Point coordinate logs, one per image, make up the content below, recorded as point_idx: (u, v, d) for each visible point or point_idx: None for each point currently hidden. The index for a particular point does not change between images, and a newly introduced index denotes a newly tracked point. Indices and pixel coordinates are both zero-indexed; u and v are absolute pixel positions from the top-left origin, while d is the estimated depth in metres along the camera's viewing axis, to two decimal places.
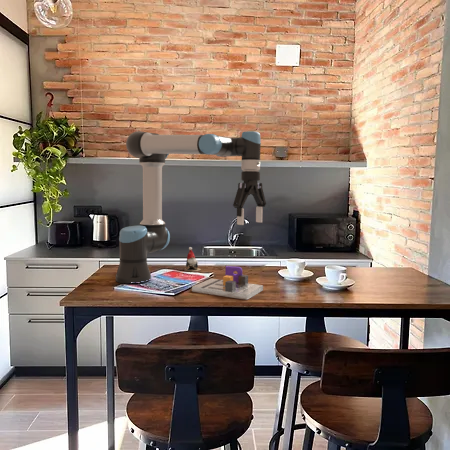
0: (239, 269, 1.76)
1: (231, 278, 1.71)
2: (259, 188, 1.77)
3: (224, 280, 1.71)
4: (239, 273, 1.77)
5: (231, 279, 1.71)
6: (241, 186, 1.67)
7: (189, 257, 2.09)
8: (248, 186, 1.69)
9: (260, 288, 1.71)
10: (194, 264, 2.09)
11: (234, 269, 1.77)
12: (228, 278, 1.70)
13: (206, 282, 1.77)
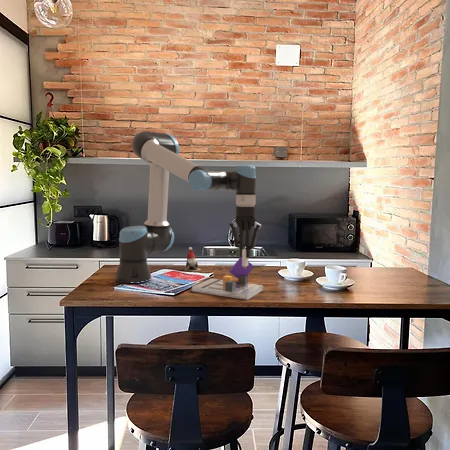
0: (251, 266, 1.78)
1: (231, 278, 1.71)
2: (255, 228, 1.64)
3: (224, 280, 1.71)
4: (249, 269, 1.78)
5: (231, 279, 1.71)
6: None
7: (189, 257, 2.09)
8: (237, 221, 1.66)
9: (260, 288, 1.71)
10: (194, 264, 2.09)
11: None
12: (228, 278, 1.70)
13: (206, 282, 1.77)
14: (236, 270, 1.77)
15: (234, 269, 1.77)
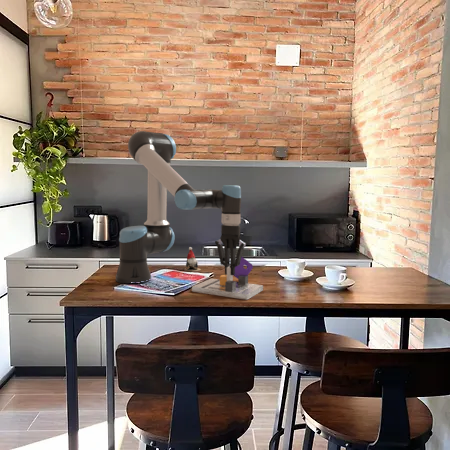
0: (251, 266, 1.78)
1: None
2: None
3: (221, 280, 1.71)
4: (248, 269, 1.78)
5: None
6: None
7: (189, 257, 2.09)
8: (223, 239, 1.70)
9: (260, 288, 1.71)
10: (194, 264, 2.09)
11: (247, 263, 1.78)
12: (224, 277, 1.70)
13: (206, 282, 1.77)
14: (236, 270, 1.77)
15: None
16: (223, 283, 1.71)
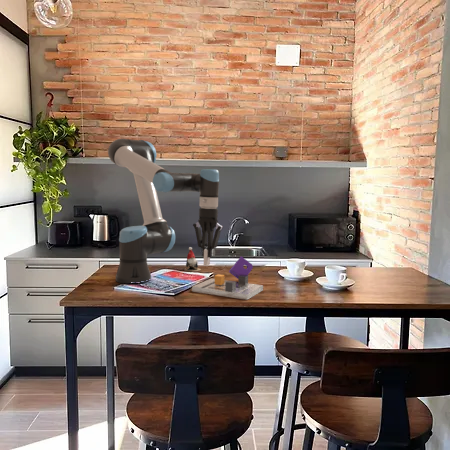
0: (251, 266, 1.78)
1: (222, 277, 1.72)
2: None
3: (216, 279, 1.72)
4: (248, 269, 1.78)
5: (222, 278, 1.73)
6: None
7: (189, 257, 2.09)
8: (200, 222, 1.74)
9: (260, 288, 1.71)
10: (194, 264, 2.09)
11: (247, 263, 1.78)
12: (219, 277, 1.71)
13: (206, 282, 1.77)
14: (236, 270, 1.77)
15: (234, 269, 1.77)
16: (218, 282, 1.72)
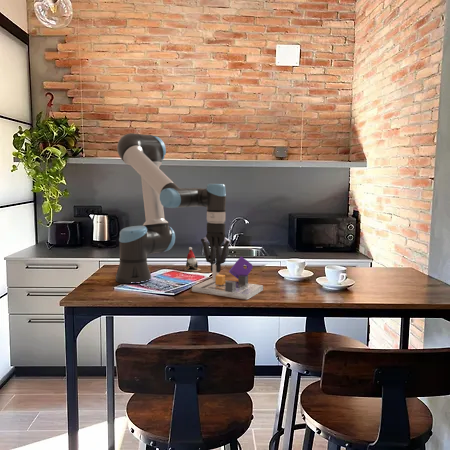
0: (251, 265, 1.78)
1: (223, 277, 1.72)
2: None
3: (216, 279, 1.72)
4: (248, 269, 1.78)
5: (223, 278, 1.72)
6: None
7: (189, 257, 2.09)
8: (208, 237, 1.73)
9: (260, 288, 1.71)
10: (194, 264, 2.09)
11: (246, 263, 1.78)
12: (220, 277, 1.71)
13: (206, 282, 1.77)
14: (236, 270, 1.77)
15: (234, 269, 1.77)
16: (219, 282, 1.72)
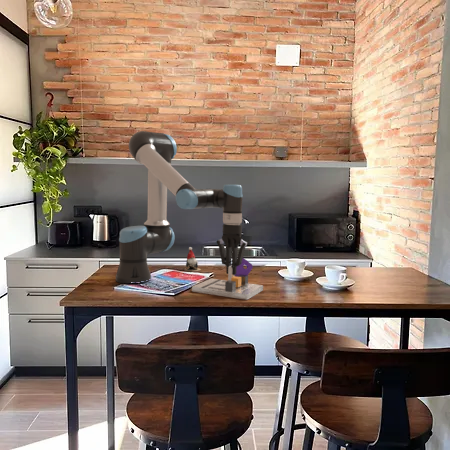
0: (251, 265, 1.78)
1: (239, 279, 1.69)
2: (241, 246, 1.67)
3: None
4: (248, 269, 1.78)
5: (239, 280, 1.69)
6: None
7: (189, 257, 2.09)
8: (224, 238, 1.69)
9: (260, 288, 1.71)
10: (194, 264, 2.09)
11: (246, 263, 1.78)
12: (236, 279, 1.68)
13: (206, 282, 1.77)
14: None
15: None
16: None
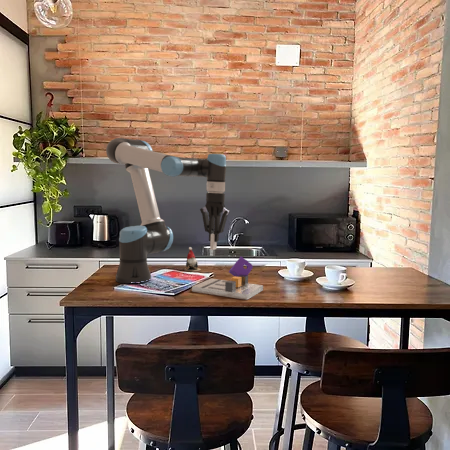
0: (250, 265, 1.78)
1: (239, 279, 1.69)
2: None
3: None
4: (248, 269, 1.78)
5: (239, 280, 1.69)
6: None
7: (189, 257, 2.09)
8: (207, 206, 1.75)
9: (260, 288, 1.71)
10: (194, 264, 2.09)
11: (246, 263, 1.78)
12: (236, 279, 1.68)
13: (206, 282, 1.77)
14: (236, 270, 1.77)
15: (234, 269, 1.77)
16: None
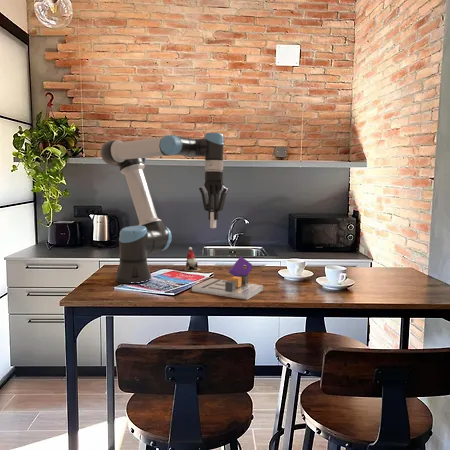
0: (250, 265, 1.78)
1: (239, 279, 1.69)
2: None
3: None
4: (248, 269, 1.78)
5: (239, 280, 1.69)
6: None
7: (189, 257, 2.09)
8: (206, 185, 1.77)
9: (260, 288, 1.71)
10: (194, 264, 2.09)
11: (246, 263, 1.78)
12: (236, 279, 1.68)
13: (206, 282, 1.77)
14: (236, 270, 1.77)
15: (234, 269, 1.77)
16: None
